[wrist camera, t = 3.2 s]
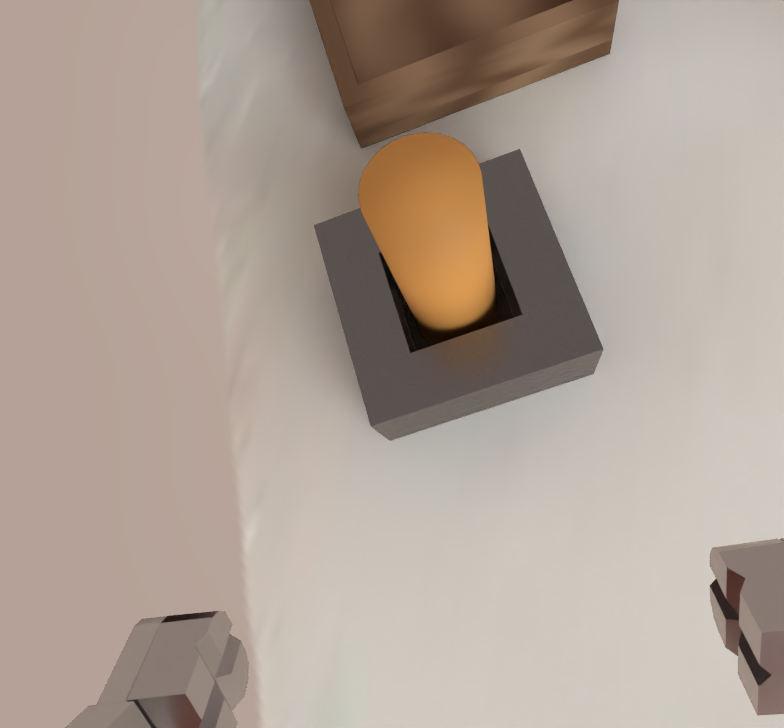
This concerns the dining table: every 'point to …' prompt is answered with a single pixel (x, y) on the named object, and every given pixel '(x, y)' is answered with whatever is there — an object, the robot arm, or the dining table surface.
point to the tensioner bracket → (473, 350)
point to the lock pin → (433, 232)
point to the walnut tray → (450, 53)
